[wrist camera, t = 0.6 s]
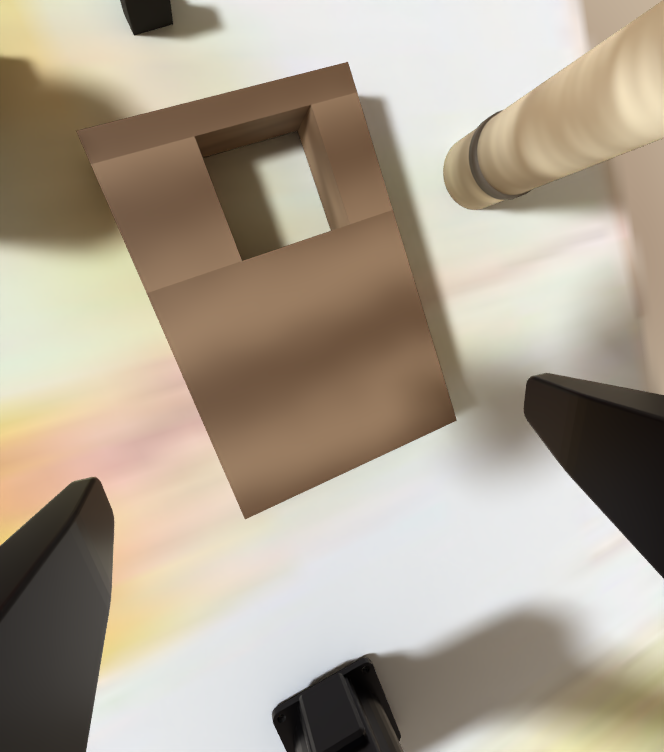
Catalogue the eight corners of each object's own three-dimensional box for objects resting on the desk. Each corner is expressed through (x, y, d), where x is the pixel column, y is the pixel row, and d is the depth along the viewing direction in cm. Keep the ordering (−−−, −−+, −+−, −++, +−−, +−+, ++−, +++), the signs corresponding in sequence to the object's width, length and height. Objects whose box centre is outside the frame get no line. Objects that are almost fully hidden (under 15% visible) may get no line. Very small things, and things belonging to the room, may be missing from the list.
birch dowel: (513, 199, 27) (776, 99, 15) (453, 220, 26) (680, 133, 14) (495, 126, 26) (759, -46, 14) (432, 145, 25) (655, -20, 13)
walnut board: (429, 409, 27) (456, 420, 24) (240, 496, 25) (245, 519, 22) (329, 93, 23) (347, 61, 21) (93, 156, 21) (76, 130, 18)
